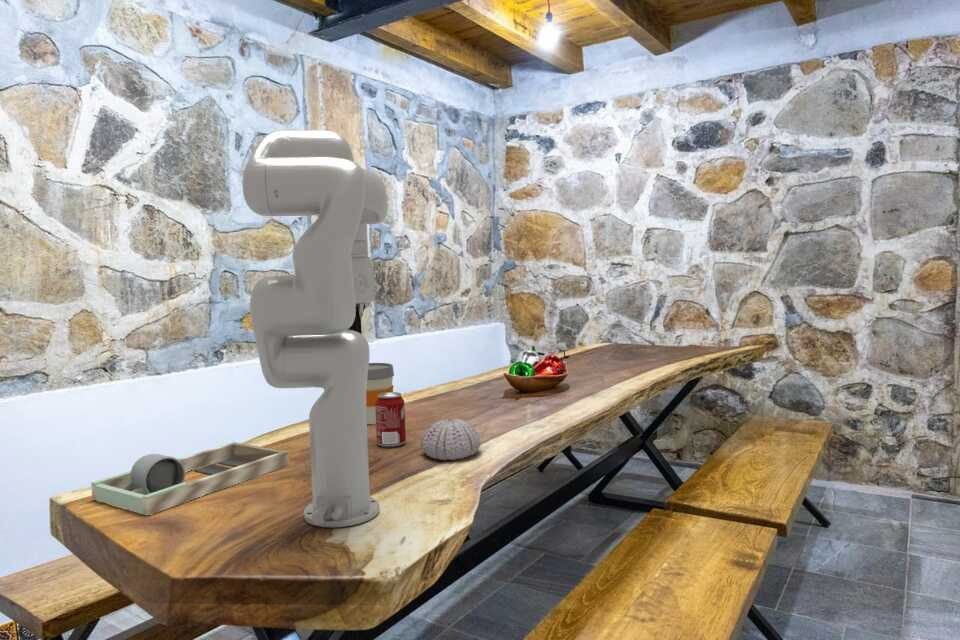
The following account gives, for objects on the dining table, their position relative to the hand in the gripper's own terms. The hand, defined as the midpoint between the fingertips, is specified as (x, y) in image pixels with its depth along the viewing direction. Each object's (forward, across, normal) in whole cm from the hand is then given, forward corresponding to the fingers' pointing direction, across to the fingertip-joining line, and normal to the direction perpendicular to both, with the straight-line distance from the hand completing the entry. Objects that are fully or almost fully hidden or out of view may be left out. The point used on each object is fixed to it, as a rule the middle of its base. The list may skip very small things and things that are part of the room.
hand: (353, 335), depth 142 cm
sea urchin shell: (+28, +12, -17) cm, 34 cm away
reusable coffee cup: (+27, +29, +20) cm, 45 cm away
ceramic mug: (+27, -36, +20) cm, 49 cm away
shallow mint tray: (+27, -38, +19) cm, 51 cm away
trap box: (+27, -26, +19) cm, 42 cm away
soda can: (+27, +12, 0) cm, 30 cm away
